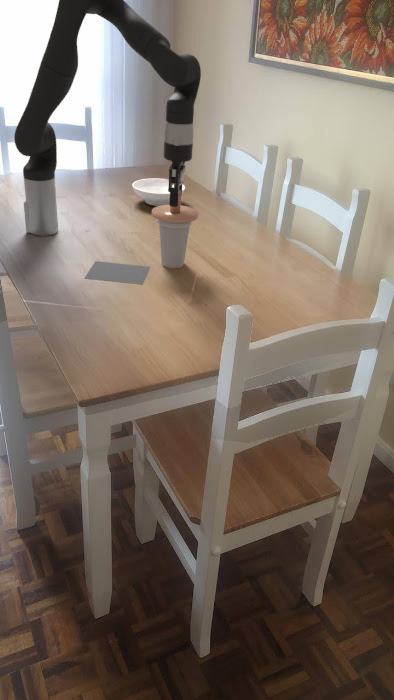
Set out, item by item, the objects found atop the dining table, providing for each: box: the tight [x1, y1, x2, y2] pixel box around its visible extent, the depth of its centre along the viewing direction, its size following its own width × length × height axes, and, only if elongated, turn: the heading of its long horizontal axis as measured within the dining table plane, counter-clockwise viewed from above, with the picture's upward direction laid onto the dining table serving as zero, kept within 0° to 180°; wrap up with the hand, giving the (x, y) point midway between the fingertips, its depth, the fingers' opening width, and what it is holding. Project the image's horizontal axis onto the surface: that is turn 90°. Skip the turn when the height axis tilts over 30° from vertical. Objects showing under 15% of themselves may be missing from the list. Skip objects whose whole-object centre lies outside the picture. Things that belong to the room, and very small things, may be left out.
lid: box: [151, 190, 199, 223], centre depth 158 cm, size 13×13×7 cm
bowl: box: [132, 177, 186, 207], centre depth 213 cm, size 20×20×7 cm
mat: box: [84, 260, 151, 285], centre depth 160 cm, size 16×12×1 cm
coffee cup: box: [157, 219, 193, 269], centre depth 164 cm, size 10×10×15 cm
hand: (175, 201), depth 158 cm, fingers open, 8 cm apart
